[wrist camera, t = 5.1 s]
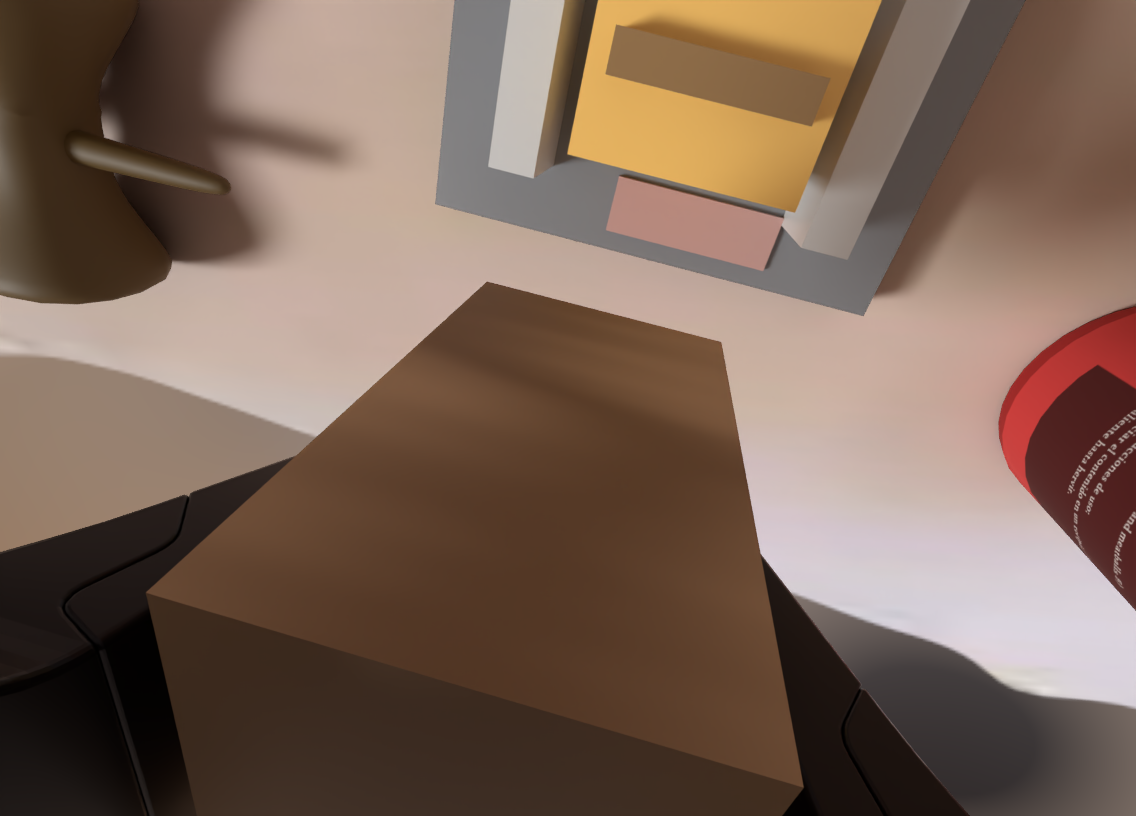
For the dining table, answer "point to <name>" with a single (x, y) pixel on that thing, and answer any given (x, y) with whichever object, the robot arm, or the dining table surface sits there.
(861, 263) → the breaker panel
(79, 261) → the kendama
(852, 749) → the robot arm
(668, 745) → the walnut block
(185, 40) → the dining table surface
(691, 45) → the knob
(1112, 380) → the canned food
